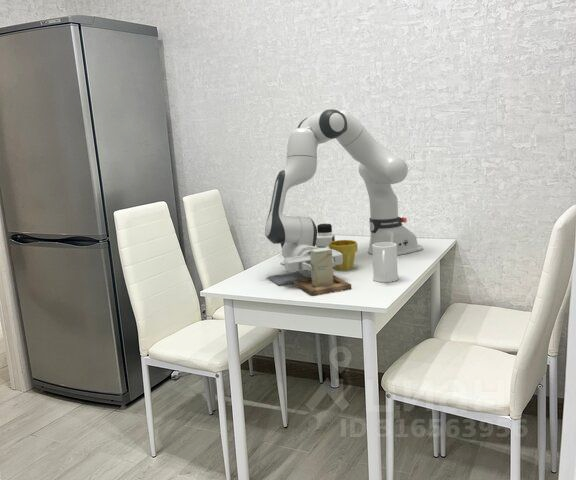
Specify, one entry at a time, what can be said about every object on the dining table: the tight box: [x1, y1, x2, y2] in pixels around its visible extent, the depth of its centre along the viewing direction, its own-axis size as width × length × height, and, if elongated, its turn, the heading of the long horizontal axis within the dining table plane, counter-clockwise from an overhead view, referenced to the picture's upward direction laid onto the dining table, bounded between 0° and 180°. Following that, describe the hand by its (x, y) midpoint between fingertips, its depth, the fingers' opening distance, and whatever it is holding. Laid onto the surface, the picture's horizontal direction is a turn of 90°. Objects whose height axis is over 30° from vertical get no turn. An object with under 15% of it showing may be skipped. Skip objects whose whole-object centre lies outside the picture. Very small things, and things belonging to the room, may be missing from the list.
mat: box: [267, 271, 309, 287], centre depth 203 cm, size 12×12×1 cm
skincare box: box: [310, 247, 334, 287], centre depth 189 cm, size 6×4×12 cm
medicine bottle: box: [315, 222, 336, 247], centre depth 242 cm, size 7×7×12 cm
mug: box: [372, 242, 399, 283], centre depth 192 cm, size 12×8×12 cm
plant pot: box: [329, 239, 358, 271], centre depth 212 cm, size 10×10×10 cm
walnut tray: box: [292, 274, 352, 297], centre depth 191 cm, size 14×16×2 cm
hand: (322, 266), depth 188 cm, fingers closed on skincare box, 6 cm apart
